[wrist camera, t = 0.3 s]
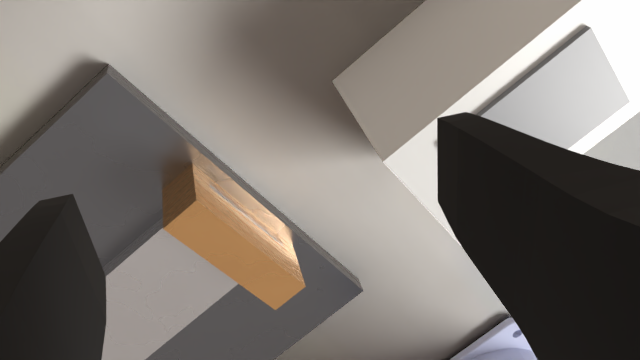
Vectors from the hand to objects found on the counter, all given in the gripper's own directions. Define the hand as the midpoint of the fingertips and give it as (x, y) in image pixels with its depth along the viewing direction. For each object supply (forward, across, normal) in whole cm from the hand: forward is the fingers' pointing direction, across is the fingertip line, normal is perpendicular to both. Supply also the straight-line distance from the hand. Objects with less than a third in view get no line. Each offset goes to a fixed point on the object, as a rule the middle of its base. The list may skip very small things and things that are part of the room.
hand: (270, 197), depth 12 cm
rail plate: (+10, +8, +11) cm, 17 cm away
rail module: (+10, -8, +2) cm, 13 cm away
